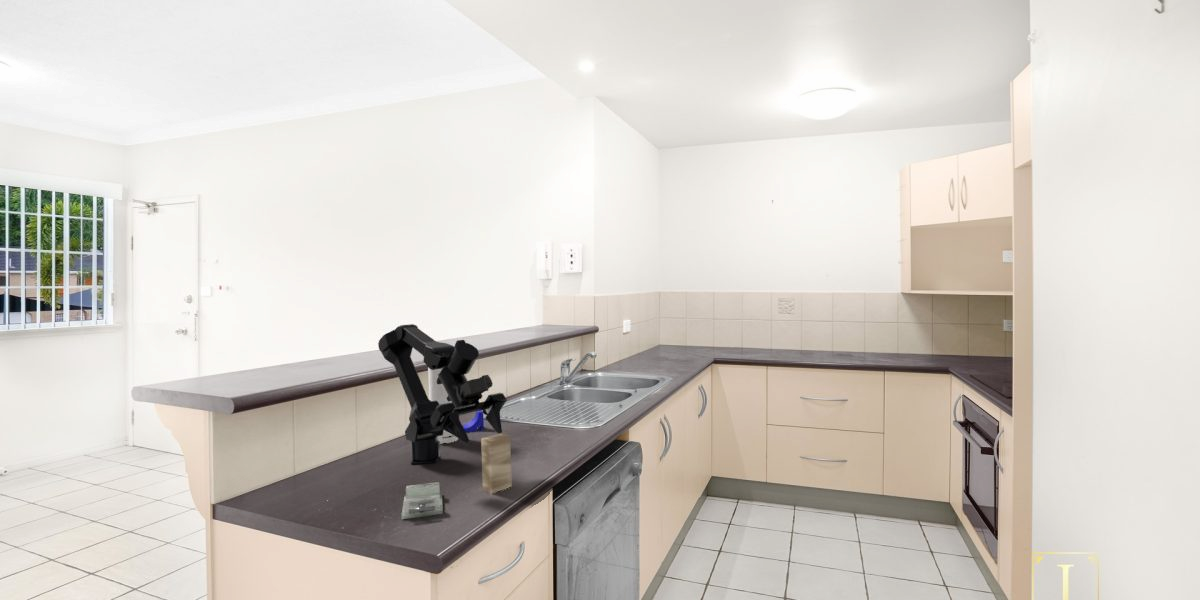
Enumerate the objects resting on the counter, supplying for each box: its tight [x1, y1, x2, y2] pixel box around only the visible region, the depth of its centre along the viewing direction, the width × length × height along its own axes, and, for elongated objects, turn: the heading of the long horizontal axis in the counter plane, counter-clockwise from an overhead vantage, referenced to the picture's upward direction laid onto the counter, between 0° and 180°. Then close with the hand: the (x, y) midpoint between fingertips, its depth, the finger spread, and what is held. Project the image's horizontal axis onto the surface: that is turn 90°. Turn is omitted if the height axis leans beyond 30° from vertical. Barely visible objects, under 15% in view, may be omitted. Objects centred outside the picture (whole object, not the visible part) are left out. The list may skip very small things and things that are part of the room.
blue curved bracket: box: [462, 410, 485, 433], centre depth 179 cm, size 12×4×6 cm, turn 119°
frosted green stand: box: [401, 481, 444, 520], centre depth 118 cm, size 13×8×3 cm, turn 17°
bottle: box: [427, 366, 459, 445], centre depth 169 cm, size 8×8×28 cm
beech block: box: [480, 432, 513, 494], centre depth 128 cm, size 4×6×12 cm, turn 137°
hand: (484, 438), depth 130 cm, fingers open, 9 cm apart
